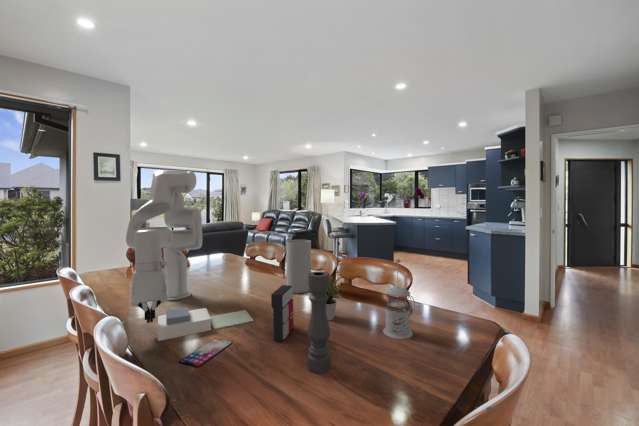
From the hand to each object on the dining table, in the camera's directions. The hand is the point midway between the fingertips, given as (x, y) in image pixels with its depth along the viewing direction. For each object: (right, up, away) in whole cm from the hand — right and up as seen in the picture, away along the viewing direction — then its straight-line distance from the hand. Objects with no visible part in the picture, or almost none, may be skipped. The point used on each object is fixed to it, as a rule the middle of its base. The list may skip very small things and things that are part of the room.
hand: (150, 321), depth 95 cm
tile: (+7, -1, +4) cm, 8 cm away
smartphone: (+23, -6, -11) cm, 27 cm away
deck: (+9, -5, +5) cm, 11 cm away
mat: (+23, -4, +13) cm, 27 cm away
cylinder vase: (+46, -3, +49) cm, 68 cm away
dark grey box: (+45, -5, +1) cm, 45 cm away
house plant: (+61, -4, +14) cm, 63 cm away
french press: (+84, -4, +2) cm, 84 cm away
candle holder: (+56, -5, -19) cm, 60 cm away
